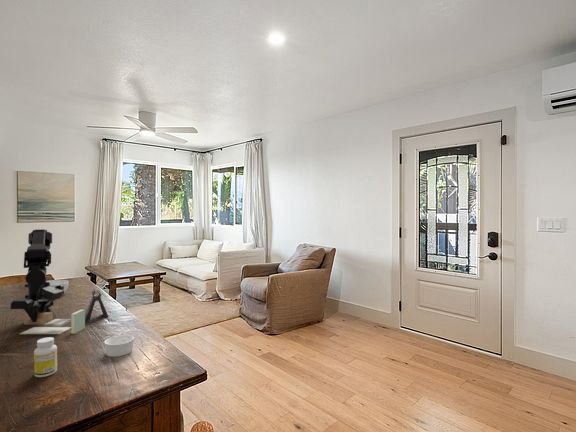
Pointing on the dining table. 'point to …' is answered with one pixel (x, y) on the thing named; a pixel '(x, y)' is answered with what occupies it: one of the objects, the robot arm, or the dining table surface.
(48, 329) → the tool rest
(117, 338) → the ramekin
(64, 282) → the cereal bowl
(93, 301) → the phone stand
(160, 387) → the dining table surface
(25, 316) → the turner
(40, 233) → the robot arm
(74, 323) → the tile
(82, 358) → the dining table surface
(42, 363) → the supplement bottle
